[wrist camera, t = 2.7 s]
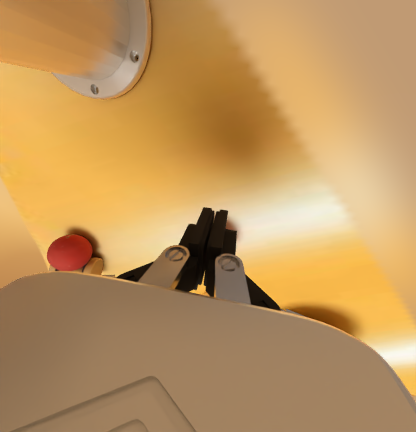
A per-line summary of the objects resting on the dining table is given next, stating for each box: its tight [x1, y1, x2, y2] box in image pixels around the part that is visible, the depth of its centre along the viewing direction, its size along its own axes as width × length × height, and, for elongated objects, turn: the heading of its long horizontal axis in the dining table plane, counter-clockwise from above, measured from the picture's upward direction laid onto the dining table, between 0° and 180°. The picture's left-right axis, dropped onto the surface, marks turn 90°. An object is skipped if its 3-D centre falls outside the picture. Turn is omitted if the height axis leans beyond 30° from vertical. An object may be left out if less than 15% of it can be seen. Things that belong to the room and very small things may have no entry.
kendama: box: [47, 234, 103, 275], centre depth 34 cm, size 8×6×18 cm
